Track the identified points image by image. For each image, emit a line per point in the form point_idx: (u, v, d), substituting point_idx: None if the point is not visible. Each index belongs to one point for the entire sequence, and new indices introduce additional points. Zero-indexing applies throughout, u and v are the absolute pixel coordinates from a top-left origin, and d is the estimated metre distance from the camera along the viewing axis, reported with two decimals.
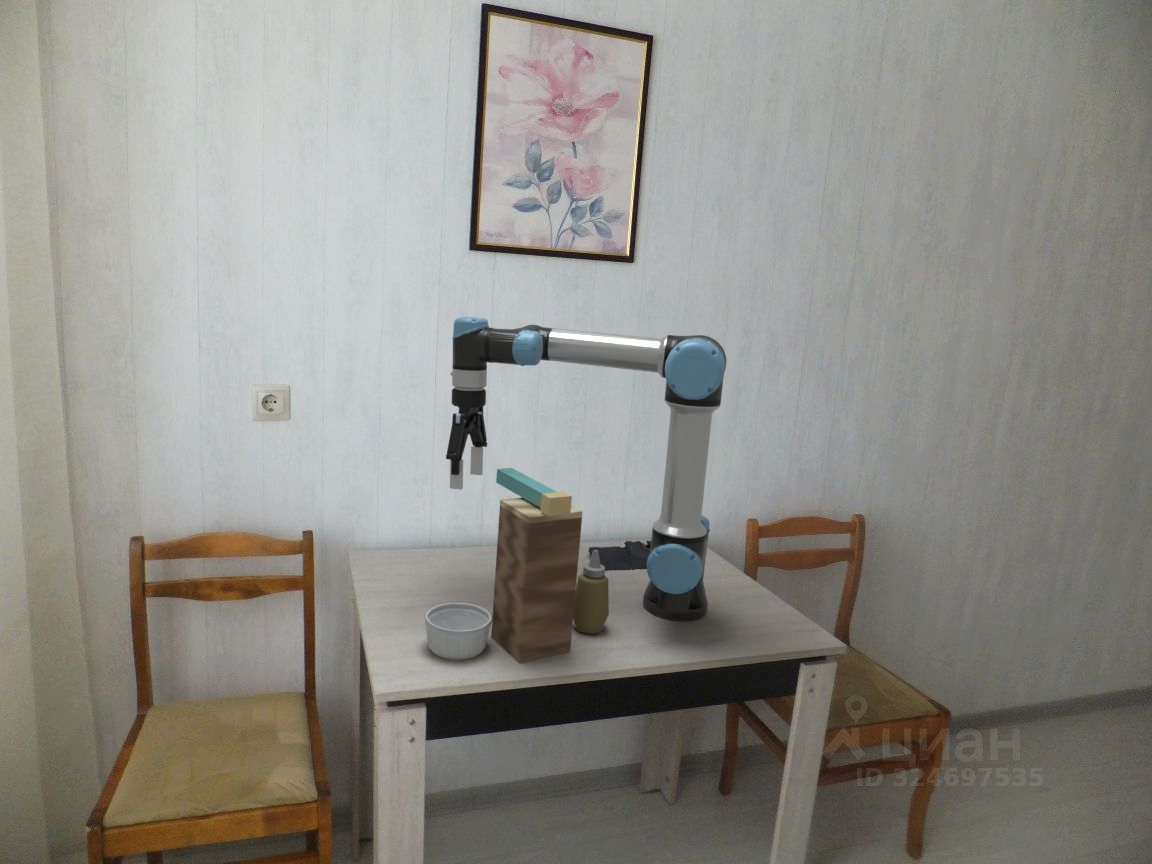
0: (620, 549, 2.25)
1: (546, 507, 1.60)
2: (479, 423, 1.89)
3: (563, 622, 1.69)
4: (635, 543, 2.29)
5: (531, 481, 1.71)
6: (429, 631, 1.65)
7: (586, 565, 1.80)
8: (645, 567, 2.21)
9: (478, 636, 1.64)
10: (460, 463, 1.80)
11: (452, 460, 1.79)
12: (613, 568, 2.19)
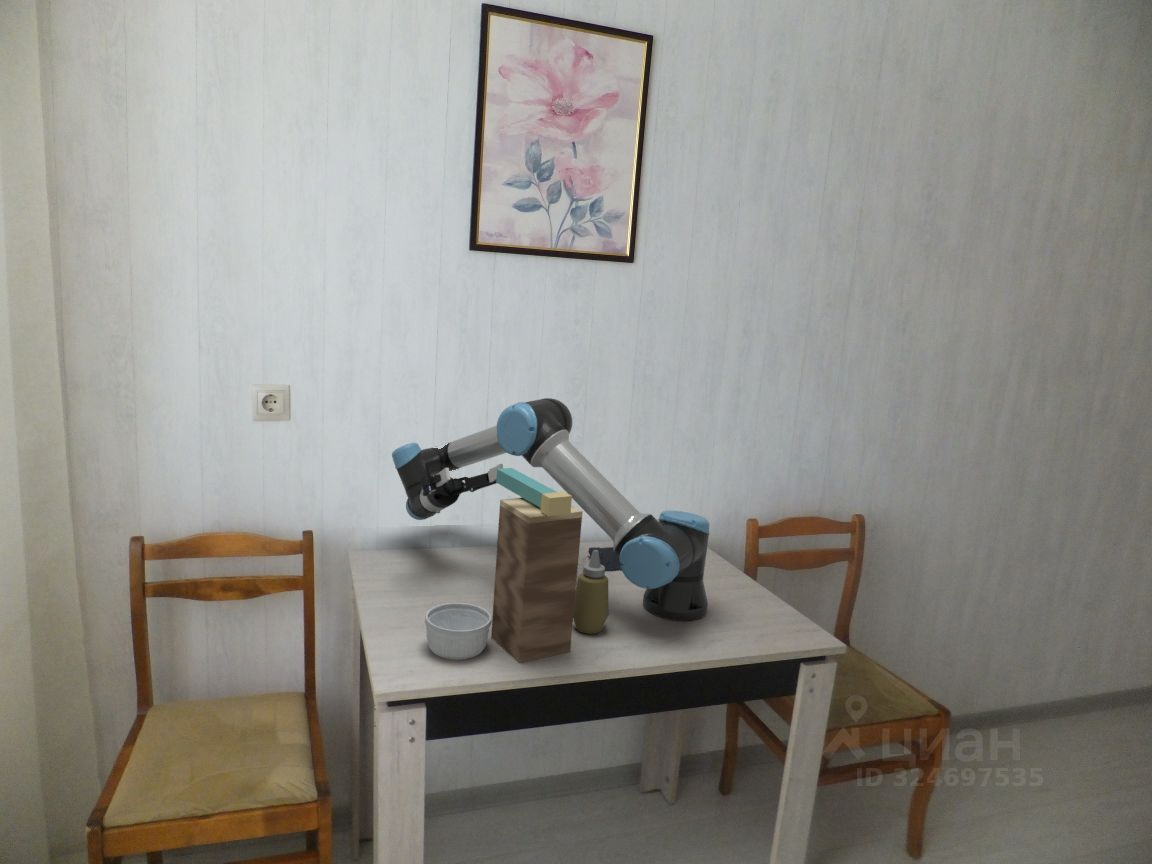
0: None
1: (546, 507, 1.60)
2: None
3: (563, 622, 1.69)
4: None
5: (531, 481, 1.71)
6: (429, 631, 1.65)
7: (586, 565, 1.80)
8: None
9: (478, 636, 1.64)
10: None
11: (430, 483, 1.92)
12: (613, 569, 2.18)
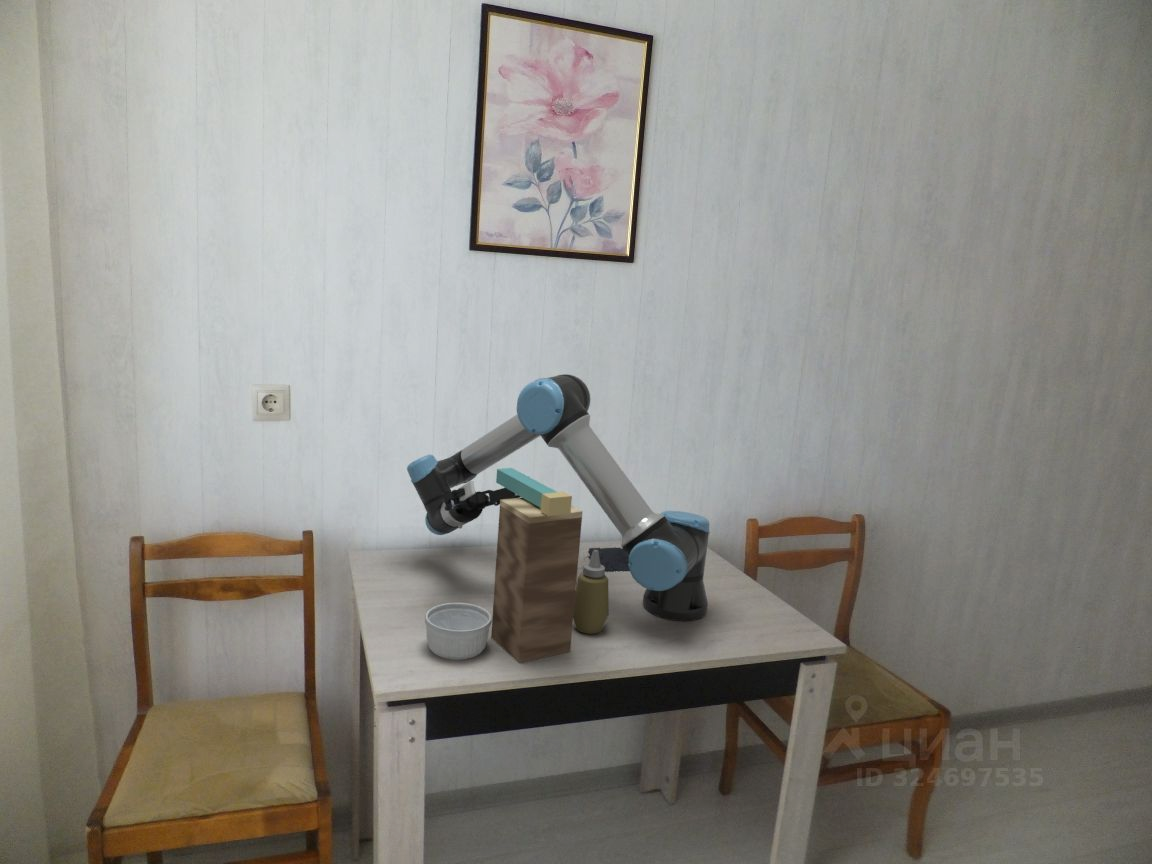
0: (620, 550, 2.25)
1: (546, 507, 1.60)
2: None
3: (563, 622, 1.69)
4: None
5: (531, 481, 1.71)
6: (429, 631, 1.65)
7: (586, 565, 1.80)
8: None
9: (478, 636, 1.64)
10: None
11: (453, 497, 1.80)
12: (612, 569, 2.18)
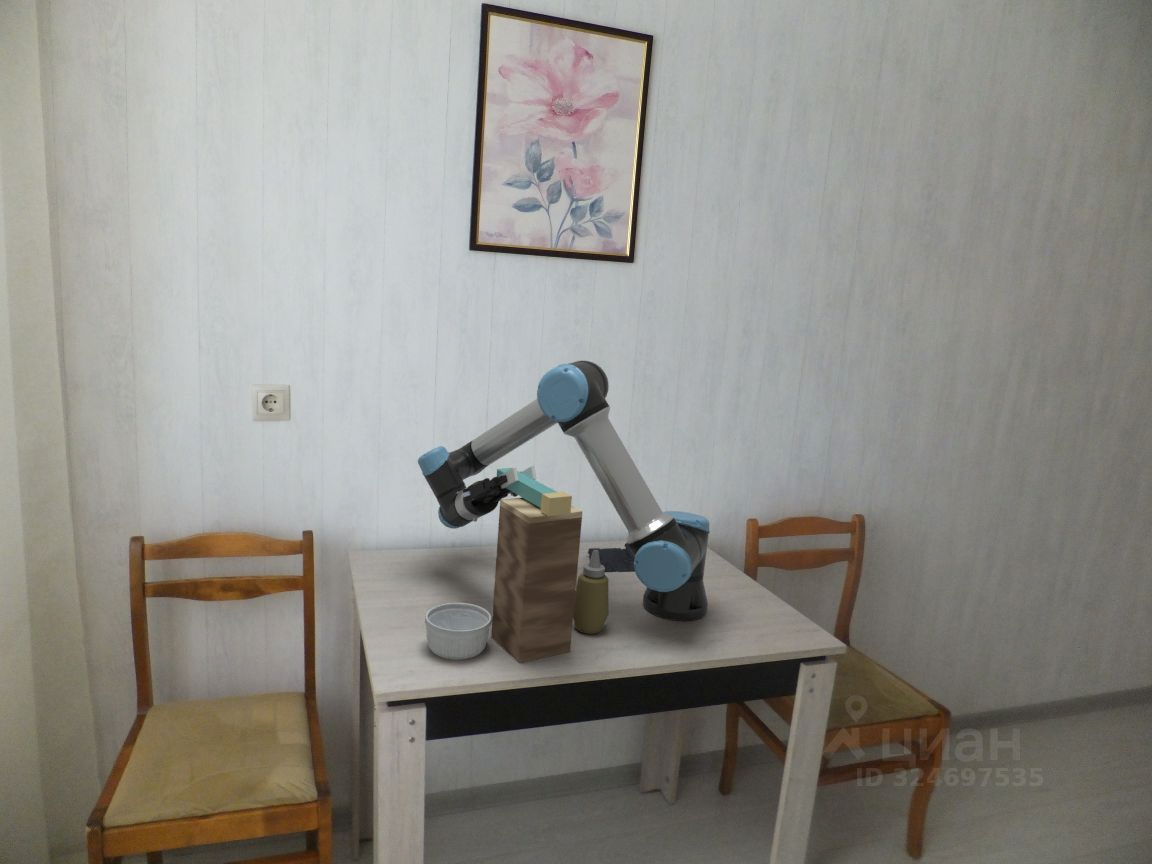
0: (619, 551, 2.24)
1: (546, 507, 1.60)
2: None
3: (563, 622, 1.69)
4: None
5: (531, 481, 1.71)
6: (429, 631, 1.65)
7: (586, 565, 1.80)
8: None
9: (478, 636, 1.64)
10: None
11: (494, 484, 1.75)
12: (611, 570, 2.17)
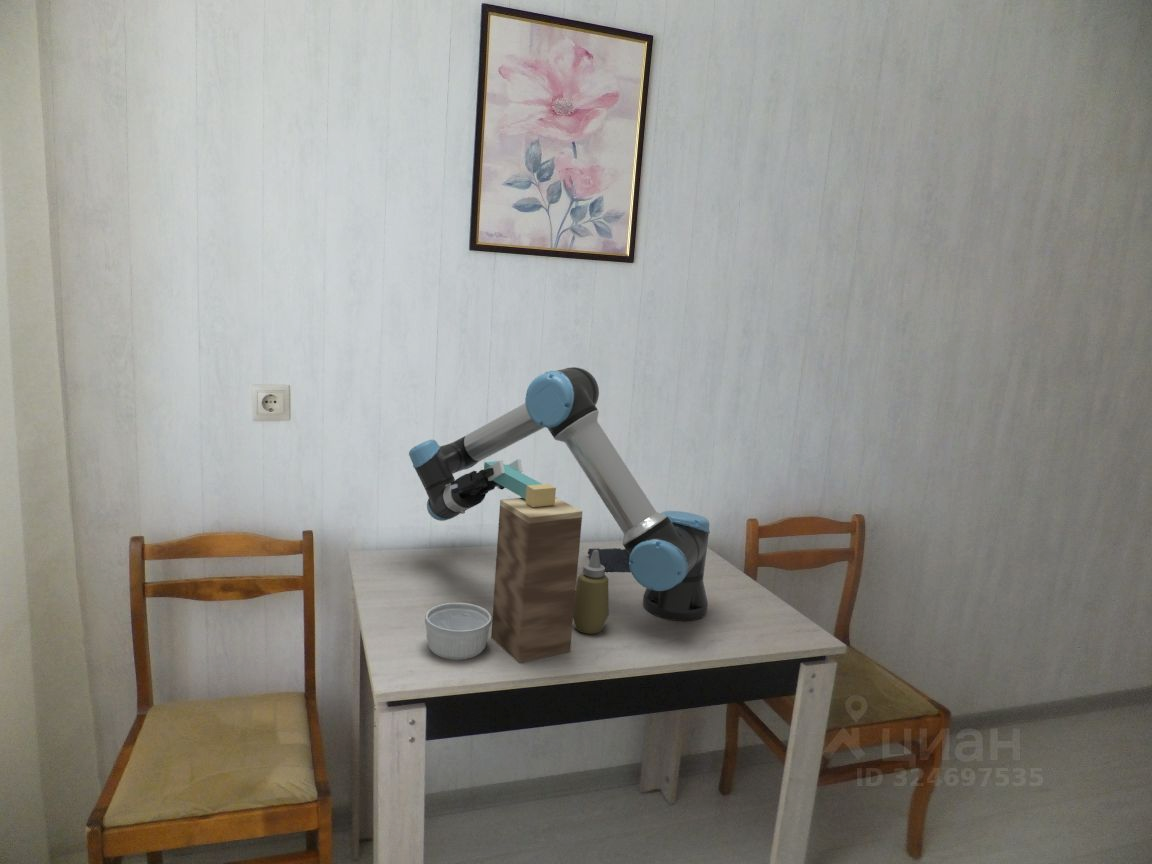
0: (619, 551, 2.24)
1: (531, 498, 1.65)
2: None
3: (563, 622, 1.69)
4: None
5: (517, 474, 1.76)
6: (429, 631, 1.65)
7: (586, 565, 1.80)
8: None
9: (478, 636, 1.64)
10: None
11: (481, 477, 1.80)
12: (610, 570, 2.17)
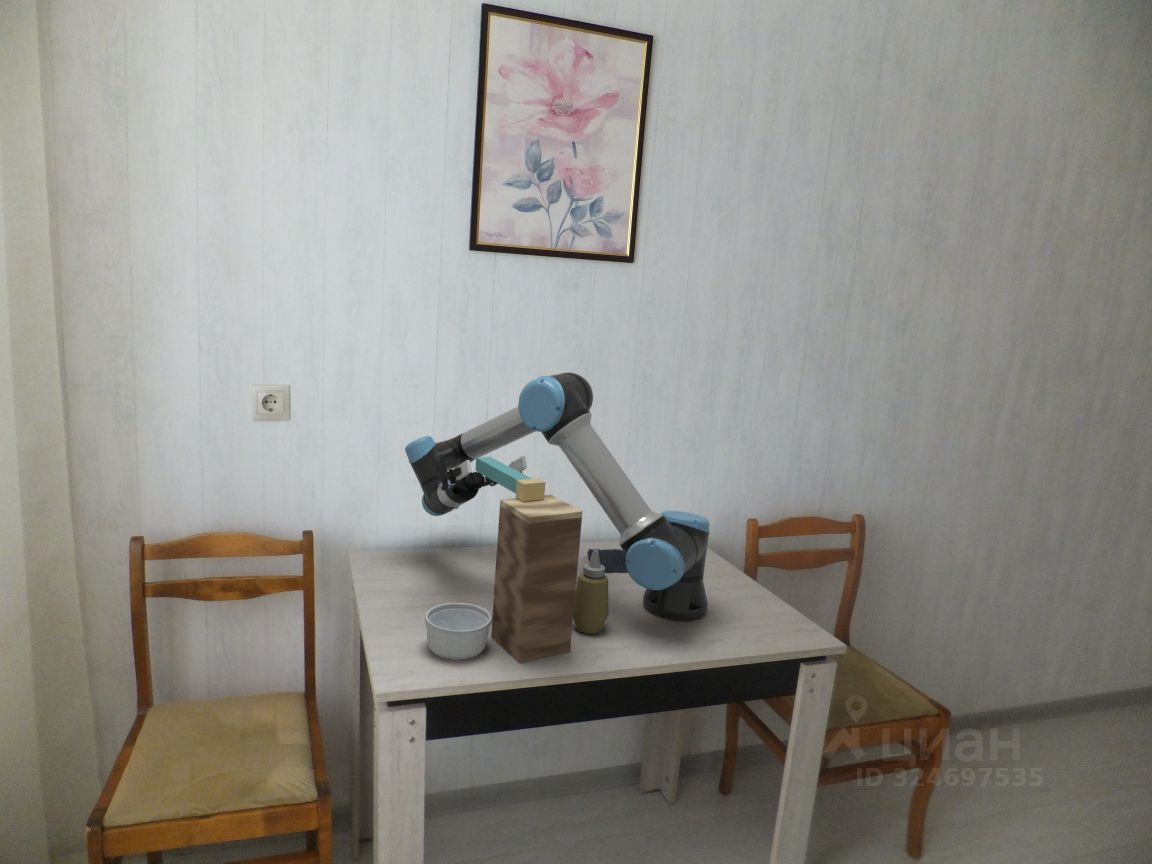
0: (619, 552, 2.23)
1: (520, 492, 1.69)
2: None
3: (563, 622, 1.69)
4: None
5: (508, 469, 1.79)
6: (429, 631, 1.65)
7: (586, 565, 1.80)
8: None
9: (478, 636, 1.64)
10: None
11: (450, 476, 1.82)
12: (609, 571, 2.17)
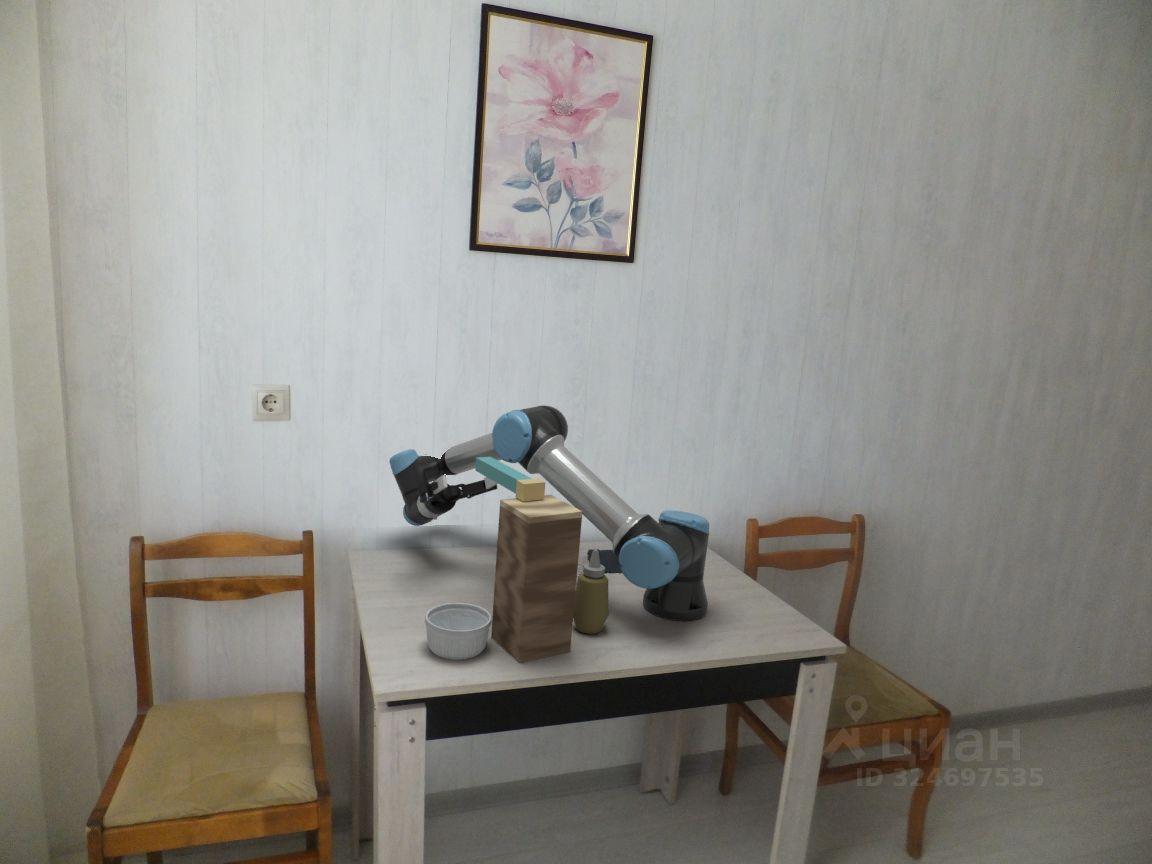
0: None
1: (520, 492, 1.69)
2: None
3: (563, 622, 1.69)
4: None
5: (508, 469, 1.79)
6: (429, 631, 1.65)
7: (586, 565, 1.80)
8: None
9: (478, 636, 1.64)
10: None
11: (427, 490, 1.93)
12: (608, 571, 2.16)
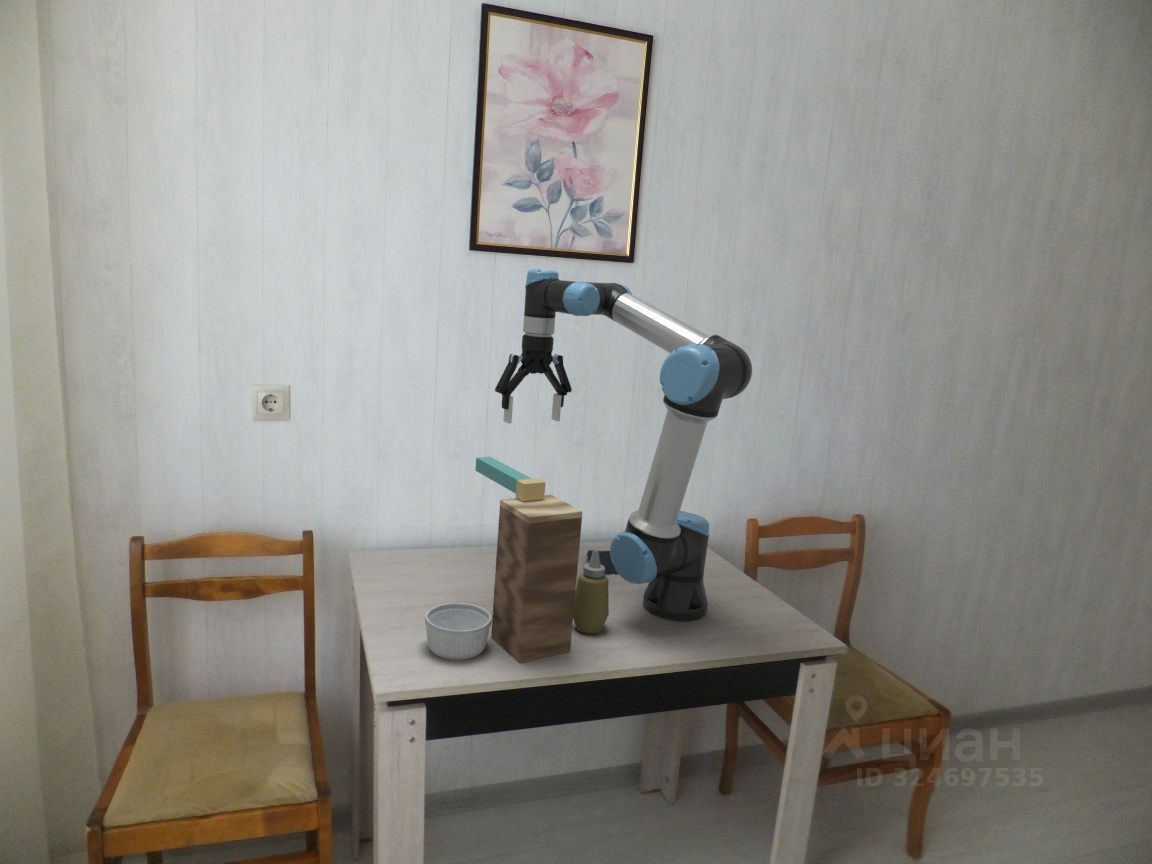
0: None
1: (520, 492, 1.69)
2: (549, 370, 2.03)
3: (563, 622, 1.69)
4: None
5: (508, 469, 1.79)
6: (429, 631, 1.65)
7: (586, 565, 1.80)
8: None
9: (478, 636, 1.64)
10: (509, 399, 1.99)
11: (502, 395, 2.00)
12: (607, 572, 2.16)
